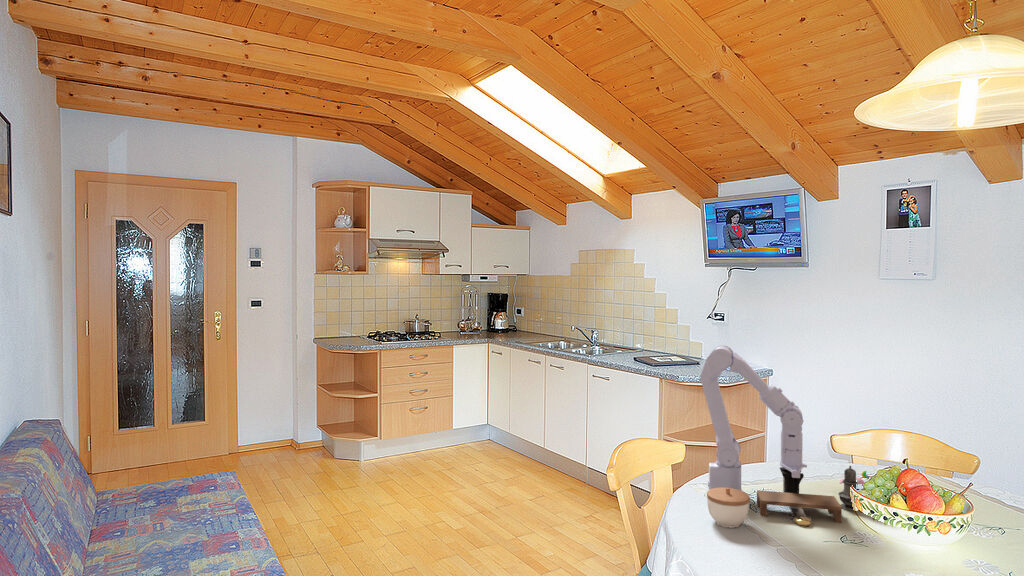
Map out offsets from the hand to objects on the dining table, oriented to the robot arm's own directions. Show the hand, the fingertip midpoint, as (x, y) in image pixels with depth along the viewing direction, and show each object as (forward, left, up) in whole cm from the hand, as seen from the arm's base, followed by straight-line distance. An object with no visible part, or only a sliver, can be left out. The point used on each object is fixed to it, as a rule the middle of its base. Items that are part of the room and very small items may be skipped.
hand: (791, 494), depth 179 cm
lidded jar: (-19, -21, -2) cm, 28 cm away
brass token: (0, -16, -2) cm, 16 cm away
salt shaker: (+15, -2, -2) cm, 15 cm away
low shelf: (0, -10, -2) cm, 10 cm away
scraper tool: (0, -7, -2) cm, 7 cm away
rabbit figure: (+22, +15, -2) cm, 27 cm away
